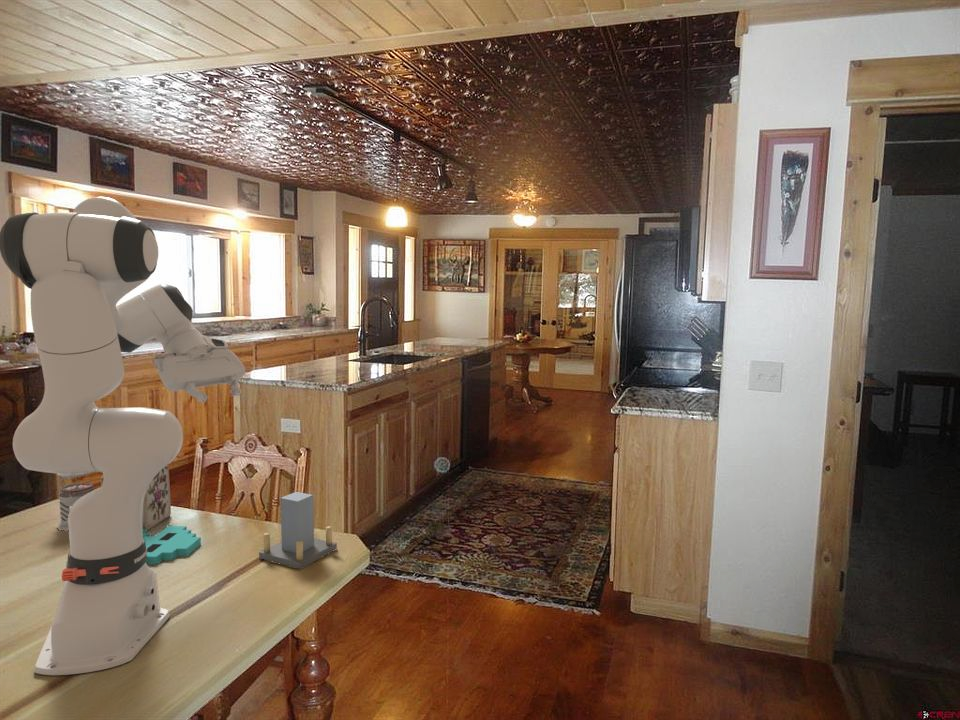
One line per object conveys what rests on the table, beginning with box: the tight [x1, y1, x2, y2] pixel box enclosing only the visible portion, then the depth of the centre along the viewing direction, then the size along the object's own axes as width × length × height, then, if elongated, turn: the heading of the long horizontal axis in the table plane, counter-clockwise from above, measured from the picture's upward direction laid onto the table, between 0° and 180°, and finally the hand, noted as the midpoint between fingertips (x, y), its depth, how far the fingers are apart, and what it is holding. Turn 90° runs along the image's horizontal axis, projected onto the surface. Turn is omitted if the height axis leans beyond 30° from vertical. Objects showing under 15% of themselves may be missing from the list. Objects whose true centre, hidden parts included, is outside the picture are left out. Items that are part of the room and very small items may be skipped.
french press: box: [56, 472, 95, 531], centre depth 159 cm, size 10×12×25 cm
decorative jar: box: [100, 465, 172, 532], centre depth 159 cm, size 12×12×18 cm
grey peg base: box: [258, 525, 338, 570], centre depth 142 cm, size 12×12×6 cm
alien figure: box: [142, 525, 202, 565], centre depth 144 cm, size 20×2×20 cm
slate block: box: [280, 491, 315, 553], centre depth 141 cm, size 5×5×12 cm
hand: (221, 397), depth 142 cm, fingers open, 8 cm apart
